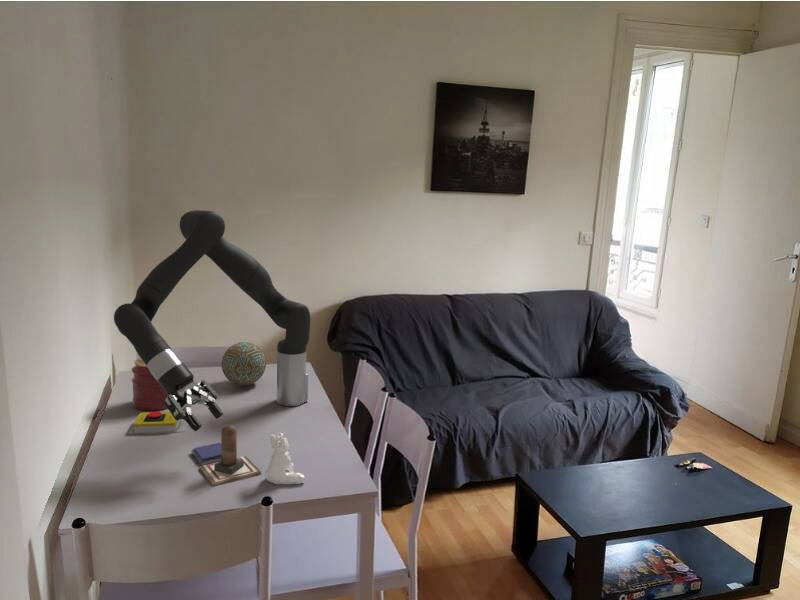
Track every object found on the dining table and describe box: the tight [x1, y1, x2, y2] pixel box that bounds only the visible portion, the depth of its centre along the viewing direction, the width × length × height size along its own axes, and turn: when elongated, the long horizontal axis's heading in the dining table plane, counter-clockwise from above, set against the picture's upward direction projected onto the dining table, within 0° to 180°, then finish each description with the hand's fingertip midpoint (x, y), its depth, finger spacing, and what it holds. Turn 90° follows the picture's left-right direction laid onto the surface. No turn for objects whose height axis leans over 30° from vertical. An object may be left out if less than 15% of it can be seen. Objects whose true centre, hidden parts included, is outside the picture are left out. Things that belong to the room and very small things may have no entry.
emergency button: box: [128, 410, 188, 435], centre depth 174 cm, size 9×4×15 cm
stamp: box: [214, 424, 244, 475], centre depth 149 cm, size 5×5×11 cm
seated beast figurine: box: [264, 431, 306, 485], centre depth 147 cm, size 10×9×12 cm
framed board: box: [198, 455, 262, 487], centre depth 150 cm, size 12×10×1 cm
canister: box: [131, 356, 169, 412], centre depth 189 cm, size 13×13×18 cm
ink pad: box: [190, 442, 222, 466], centre depth 158 cm, size 8×8×2 cm
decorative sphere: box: [221, 341, 267, 386], centre depth 212 cm, size 15×15×15 cm
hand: (209, 422), depth 150 cm, fingers open, 8 cm apart
